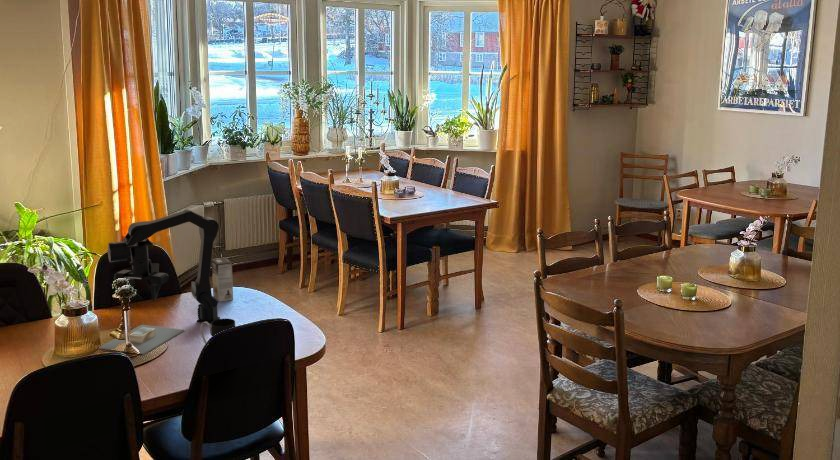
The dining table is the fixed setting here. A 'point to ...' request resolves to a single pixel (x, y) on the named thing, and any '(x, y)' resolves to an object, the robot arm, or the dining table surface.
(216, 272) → the coffee box
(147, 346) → the grey rectangular board
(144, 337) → the framed mirror
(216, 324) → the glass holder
